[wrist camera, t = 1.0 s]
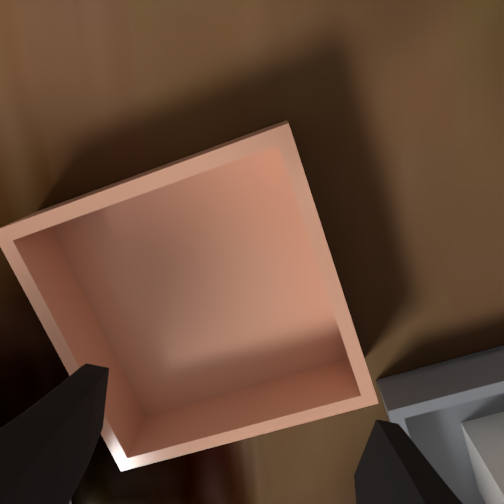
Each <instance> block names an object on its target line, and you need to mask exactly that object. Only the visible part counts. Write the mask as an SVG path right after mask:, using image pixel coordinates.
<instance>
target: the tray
mask: <svg viewBox="0 0 504 504" xmlns="http://www.w3.org/2000/svg"><path fill="white" fill-rule="evenodd" d="M376 381H377V384H378V387H379V390H380V393H381V397H382V400H383V403H384V406H385V409H386V412H387V415H388V419H389V422H392V423H397V424H399V425H400V426H401V427H402V429H403V430H404V431H405V432H406V434H407V435H408V436H409V437H410V439H411V440H412V441H413V442H414V444H415V445H416V446H417V448H418V449H419V450H420V451H421V453H422V454H423V455H424V457H425V458H426V459H427V460H428V462H429V463H430V464H431V465H432V467H433V468H434V469H435V471H436V472H437V473H438V474H439V476H440V477H441V478H442V479H443V481H444V482H445V483H446V484H447V485H448V487H449V488H450V489H451V490H452V492H453V493H454V494H455V495H456V496H457V498H458V499H459V500H460V501H461V502H462V503H463V504H486V503H485V501H484V499H483V498H482V496H481V494H480V492H479V490H478V486H477V482H476V478H475V474H474V471H473V467H472V463H471V459H470V456H469V452H468V448H467V444H466V440H465V437H464V433H463V429H462V425H461V422H465V421H469V420H473V419H477V418H481V417H485V416H489V415H493V414H497V413H501V412H504V345H502V346H499V347H495V348H491V349H488V350H484V351H480V352H477V353H473V354H469V355H466V356H462V357H458V358H455V359H451V360H447V361H444V362H440V363H436V364H432V365H429V366H425V367H421V368H418V369H414V370H410V371H407V372H403V373H399V374H396V375H392V376H388V377H385V378H381V379H377V380H376Z"/></svg>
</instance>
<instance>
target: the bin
mask: <svg viewBox="0 0 504 504" xmlns="http://www.w3.org/2000/svg"><path fill="white" fill-rule="evenodd" d="M0 247H1V249H2V251H3V253H4V255H5V256H6V258H7V260H8V262H9V264H10V266H11V268H12V269H13V271H14V273H15V275H16V277H17V279H18V281H19V282H20V284H21V286H22V288H23V290H24V292H25V294H26V296H27V297H28V299H29V301H30V303H31V305H32V307H33V309H34V310H35V312H36V314H37V316H38V318H39V320H40V322H41V323H42V325H43V327H44V329H45V331H46V333H47V335H48V337H49V338H50V340H51V342H52V344H53V346H54V348H55V350H56V351H57V353H58V355H59V357H60V359H61V361H62V363H63V364H64V366H65V368H66V370H67V372H68V374H69V376H70V375H72V374H73V373H74V372H75V371H76V370H78V369H79V368H80V367H81V366H83V365H84V364H86V363H87V364H92V365H97V366H102V367H108V368H109V375H108V384H107V393H106V402H105V411H104V421H103V429H102V431H101V435H102V437H103V439H104V441H105V443H106V445H107V446H108V448H109V450H110V452H111V454H112V456H113V458H114V460H115V461H116V463H117V465H118V467H119V469H120V471H125V470H129V469H133V468H136V467H140V466H144V465H148V464H151V463H155V462H159V461H163V460H167V459H170V458H174V457H178V456H182V455H186V454H189V453H193V452H197V451H201V450H204V449H208V448H212V447H216V446H220V445H223V444H227V443H231V442H235V441H238V440H242V439H246V438H250V437H254V436H257V435H261V434H265V433H269V432H272V431H276V430H280V429H284V428H288V427H291V426H295V425H299V424H303V423H306V422H310V421H314V420H318V419H322V418H325V417H329V416H333V415H337V414H340V413H344V412H348V411H352V410H356V409H359V408H363V407H367V406H371V405H374V404H378V400H377V397H376V393H375V390H374V387H373V384H372V381H371V378H370V375H369V372H368V368H367V365H366V362H365V359H364V356H363V353H362V350H361V347H360V344H359V340H358V337H357V334H356V331H355V328H354V325H353V322H352V319H351V316H350V312H349V309H348V306H347V303H346V300H345V297H344V294H343V291H342V288H341V284H340V281H339V278H338V275H337V272H336V269H335V266H334V263H333V259H332V256H331V253H330V250H329V247H328V244H327V241H326V238H325V235H324V231H323V228H322V225H321V222H320V219H319V216H318V213H317V210H316V207H315V203H314V200H313V197H312V194H311V191H310V188H309V185H308V182H307V179H306V175H305V172H304V169H303V166H302V163H301V160H300V157H299V154H298V150H297V147H296V144H295V141H294V138H293V135H292V132H291V129H290V126H289V123H288V122H287V120H285V121H282V122H280V123H277V124H274V125H271V126H269V127H266V128H263V129H261V130H258V131H255V132H252V133H250V134H247V135H244V136H241V137H239V138H236V139H233V140H230V141H228V142H225V143H222V144H220V145H217V146H214V147H211V148H209V149H206V150H203V151H200V152H198V153H195V154H192V155H190V156H187V157H184V158H181V159H179V160H176V161H173V162H170V163H168V164H165V165H162V166H160V167H157V168H154V169H151V170H149V171H146V172H143V173H140V174H138V175H135V176H132V177H129V178H127V179H124V180H121V181H119V182H116V183H113V184H110V185H108V186H105V187H102V188H99V189H97V190H94V191H91V192H89V193H86V194H83V195H80V196H78V197H75V198H72V199H69V200H67V201H64V202H61V203H59V204H56V205H53V206H50V207H48V208H45V209H42V210H39V211H37V212H34V213H32V214H30V215H28V216H25V217H23V218H21V219H19V220H16V221H14V222H12V223H10V224H7V225H5V226H3V227H1V228H0Z"/></svg>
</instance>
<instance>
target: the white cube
mask: <svg viewBox="0 0 504 504" xmlns="http://www.w3.org/2000/svg"><path fill="white" fill-rule="evenodd" d="M461 425H462V429H463V433H464V437H465V440H466V444H467V448H468V452H469V456H470V459H471V463H472V467H473V471H474V474H475V478H476V482H477V486H478V490H479V492H480V494H481V496H482V498H483V499H484V501H485V503H486V504H504V412H501V413H497V414H493V415H489V416H485V417H481V418H477V419H473V420H469V421H465V422H461Z"/></svg>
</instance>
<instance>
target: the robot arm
mask: <svg viewBox="0 0 504 504" xmlns="http://www.w3.org/2000/svg"><path fill="white" fill-rule="evenodd" d="M108 375H109V368H108V367H102V366H97V365H92V364H87V363H86V364H84V365H83V366H81V367H80V368H79V369H78V370H76V371H75V372H74V373H73V374H72V375H70V376H69V377H68V378H67V379H66V380H64V381H63V382H62V383H61V384H59V385H58V386H57V387H56V388H54V389H53V390H52V391H51V392H49V393H48V394H47V395H46V396H44V397H43V398H42V399H40V400H39V401H38V402H36V403H35V404H34V405H32V406H31V407H30V408H28V409H27V410H26V411H24V412H23V413H22V414H20V415H19V416H17V417H16V418H15V419H13V420H12V421H10V422H9V423H7V424H6V425H4V426H3V427H1V428H0V504H69V502H70V500H71V498H72V496H73V494H74V492H75V490H76V489H77V487H78V485H79V483H80V481H81V479H82V477H83V475H84V473H85V471H86V469H87V467H88V465H89V462H90V460H91V457H92V455H93V452H94V450H95V447H96V444H97V442H98V439H99V437H100V434H101V431H102V429H103V421H104V411H105V402H106V393H107V384H108ZM354 478H355V491H356V502H357V504H463V503H462V502H461V501H460V500H459V499H458V498H457V496H456V495H455V494H454V493H453V492H452V490H451V489H450V488H449V487H448V485H447V484H446V483H445V482H444V481H443V479H442V478H441V477H440V476H439V474H438V473H437V472H436V471H435V469H434V468H433V467H432V465H431V464H430V463H429V462H428V460H427V459H426V458H425V457H424V455H423V454H422V453H421V451H420V450H419V449H418V448H417V446H416V445H415V444H414V442H413V441H412V440H411V439H410V437H409V436H408V435H407V434H406V432H405V431H404V430H403V429H402V427H401V426H400V425H399V424H397V423H392V422H387V421H381V420H376V422H375V424H374V427H373V429H372V432H371V434H370V437H369V439H368V442H367V445H366V447H365V450H364V452H363V455H362V457H361V460H360V462H359V465H358V467H357V470H356V472H355V475H354Z"/></svg>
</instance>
